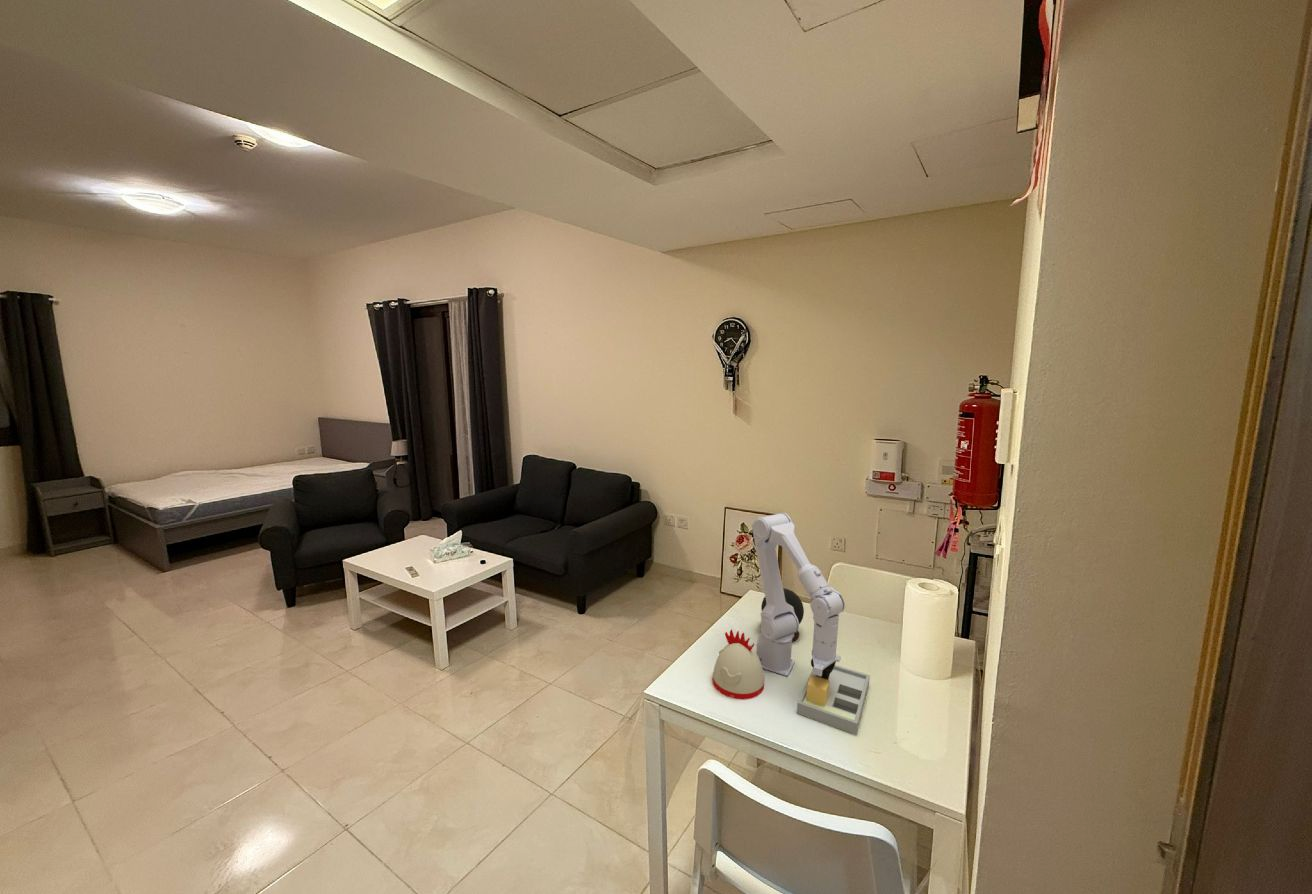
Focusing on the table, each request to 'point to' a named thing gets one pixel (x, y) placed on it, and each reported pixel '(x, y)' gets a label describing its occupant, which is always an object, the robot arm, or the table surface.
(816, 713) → the box
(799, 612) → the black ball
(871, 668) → the table surface
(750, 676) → the kitchen timer
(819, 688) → the block
